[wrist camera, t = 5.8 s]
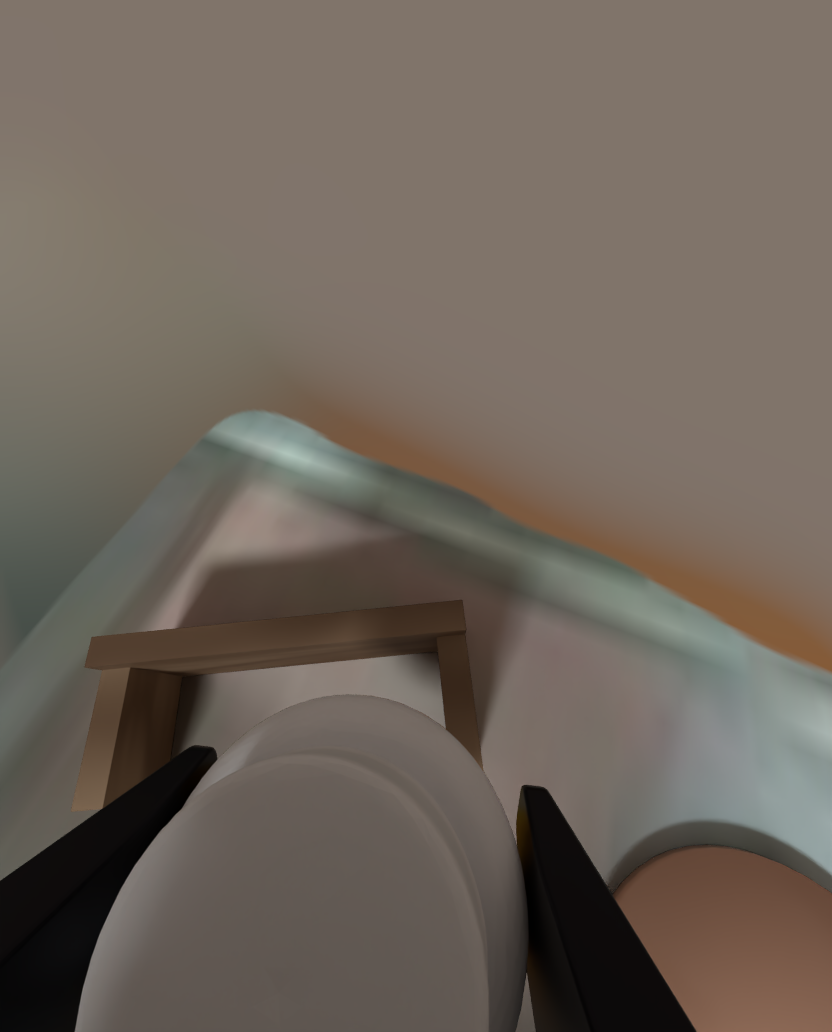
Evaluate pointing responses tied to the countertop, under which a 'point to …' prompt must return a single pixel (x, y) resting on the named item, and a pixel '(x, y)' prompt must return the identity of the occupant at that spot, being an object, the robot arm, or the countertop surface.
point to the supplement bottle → (322, 889)
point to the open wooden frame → (247, 646)
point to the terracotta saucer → (735, 938)
